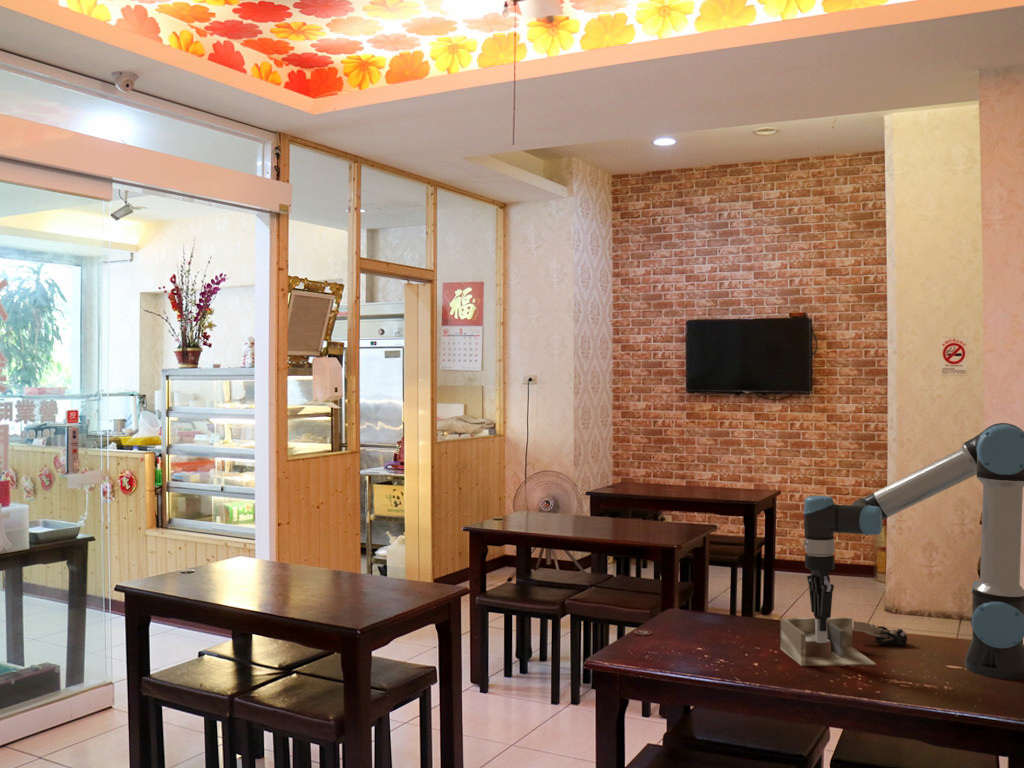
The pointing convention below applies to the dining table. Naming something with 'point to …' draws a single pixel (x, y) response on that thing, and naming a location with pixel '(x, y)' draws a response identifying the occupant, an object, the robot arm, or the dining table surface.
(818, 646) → the tall mauve wooden block
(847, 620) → the shelf
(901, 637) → the toy figure
